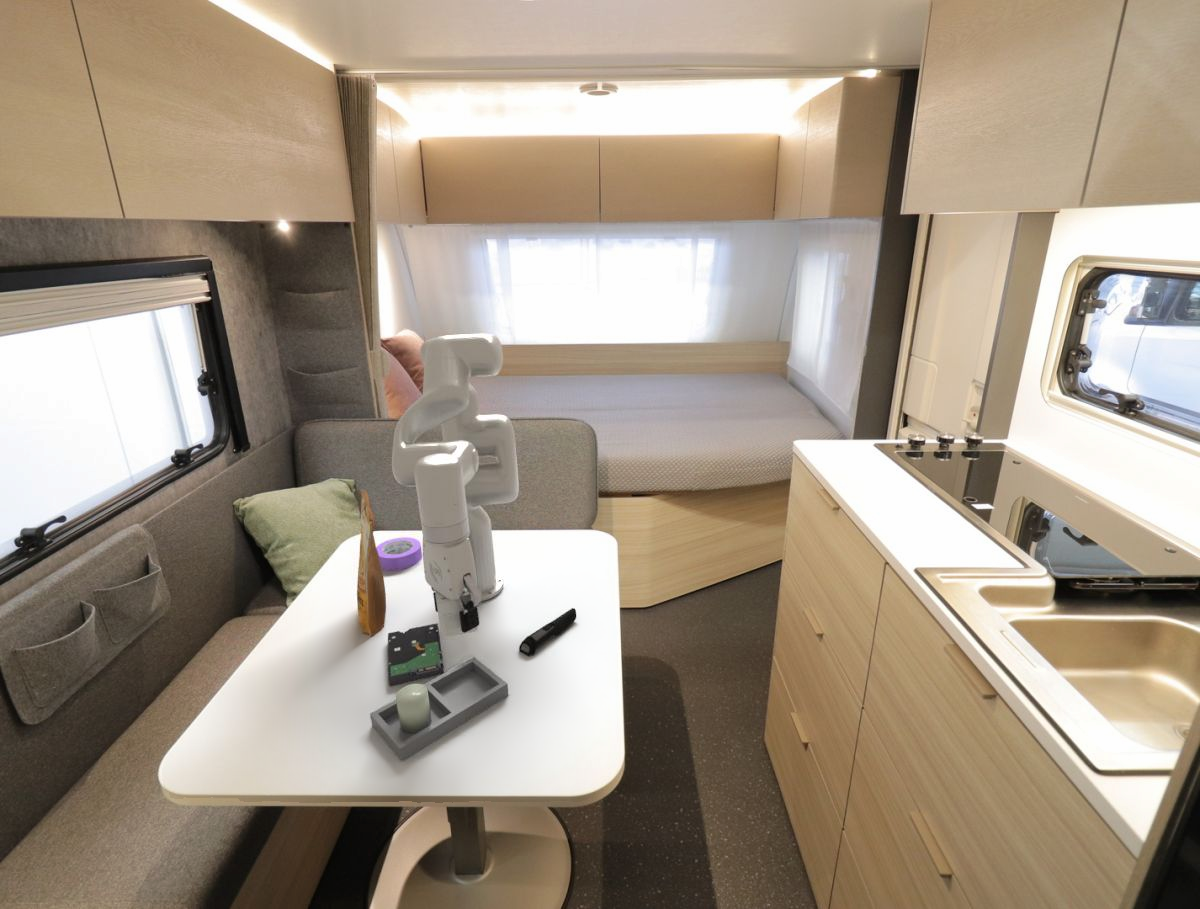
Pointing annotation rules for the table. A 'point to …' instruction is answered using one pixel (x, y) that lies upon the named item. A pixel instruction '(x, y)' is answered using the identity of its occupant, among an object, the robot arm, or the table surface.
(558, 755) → the table surface
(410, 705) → the sage jar
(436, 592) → the white box
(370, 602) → the pancake mix bag
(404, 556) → the masking tape
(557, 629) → the electric trimmer
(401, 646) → the disk drive
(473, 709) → the caddy
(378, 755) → the table surface
